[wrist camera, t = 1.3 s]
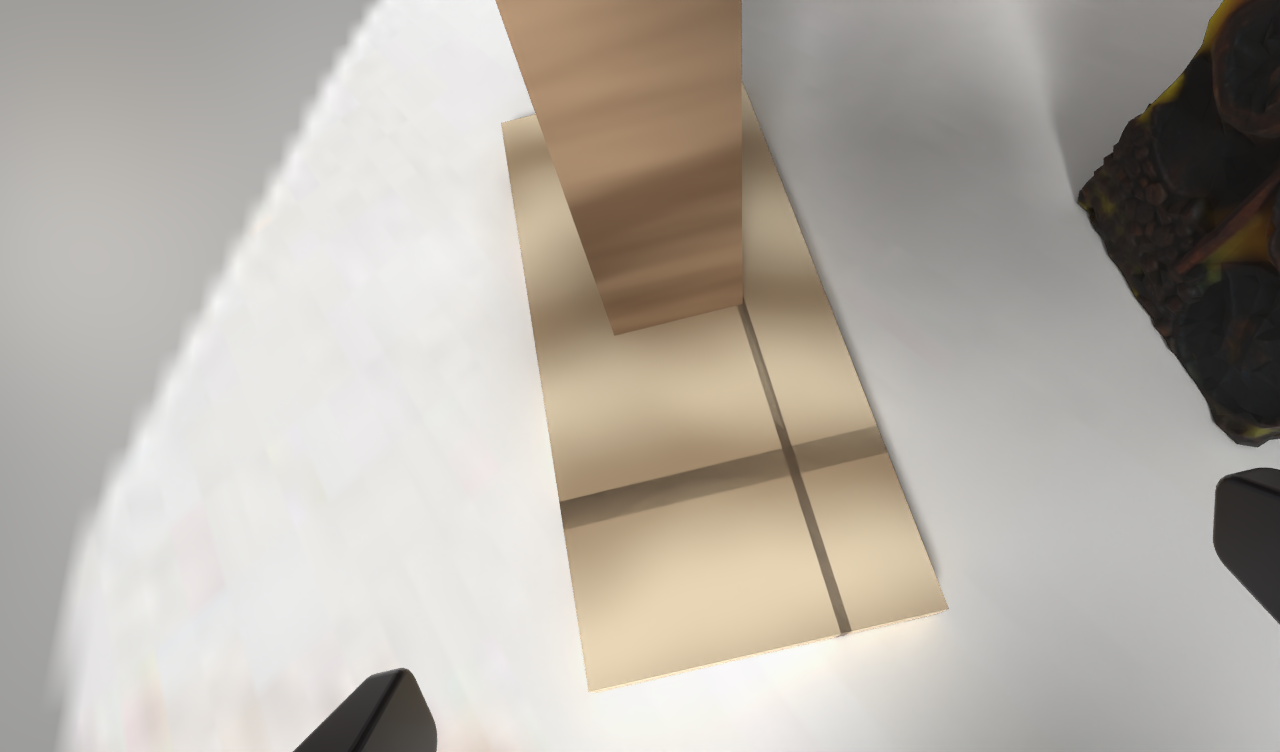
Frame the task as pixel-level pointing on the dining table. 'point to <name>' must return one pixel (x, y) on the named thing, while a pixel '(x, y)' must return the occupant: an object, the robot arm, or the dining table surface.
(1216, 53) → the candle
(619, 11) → the tall wooden pillar
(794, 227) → the board
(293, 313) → the dining table surface
